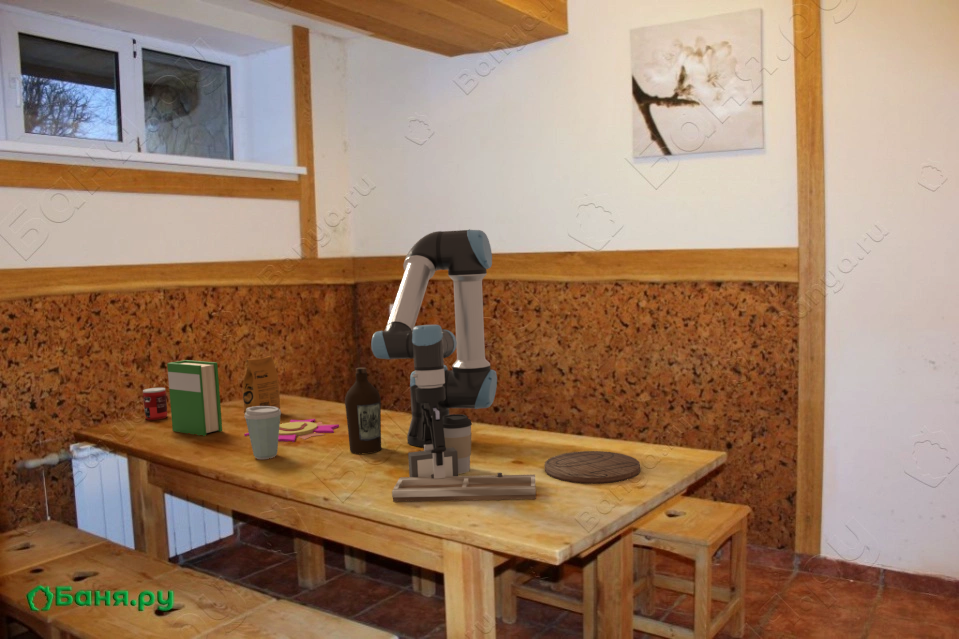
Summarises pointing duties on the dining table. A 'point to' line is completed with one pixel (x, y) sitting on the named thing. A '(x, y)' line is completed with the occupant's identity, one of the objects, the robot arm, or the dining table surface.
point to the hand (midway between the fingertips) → (434, 473)
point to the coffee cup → (459, 438)
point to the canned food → (155, 403)
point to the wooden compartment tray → (465, 488)
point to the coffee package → (261, 384)
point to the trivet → (592, 467)
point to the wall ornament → (302, 429)
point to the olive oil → (363, 415)
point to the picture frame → (424, 463)
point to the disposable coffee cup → (263, 430)
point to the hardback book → (194, 397)
